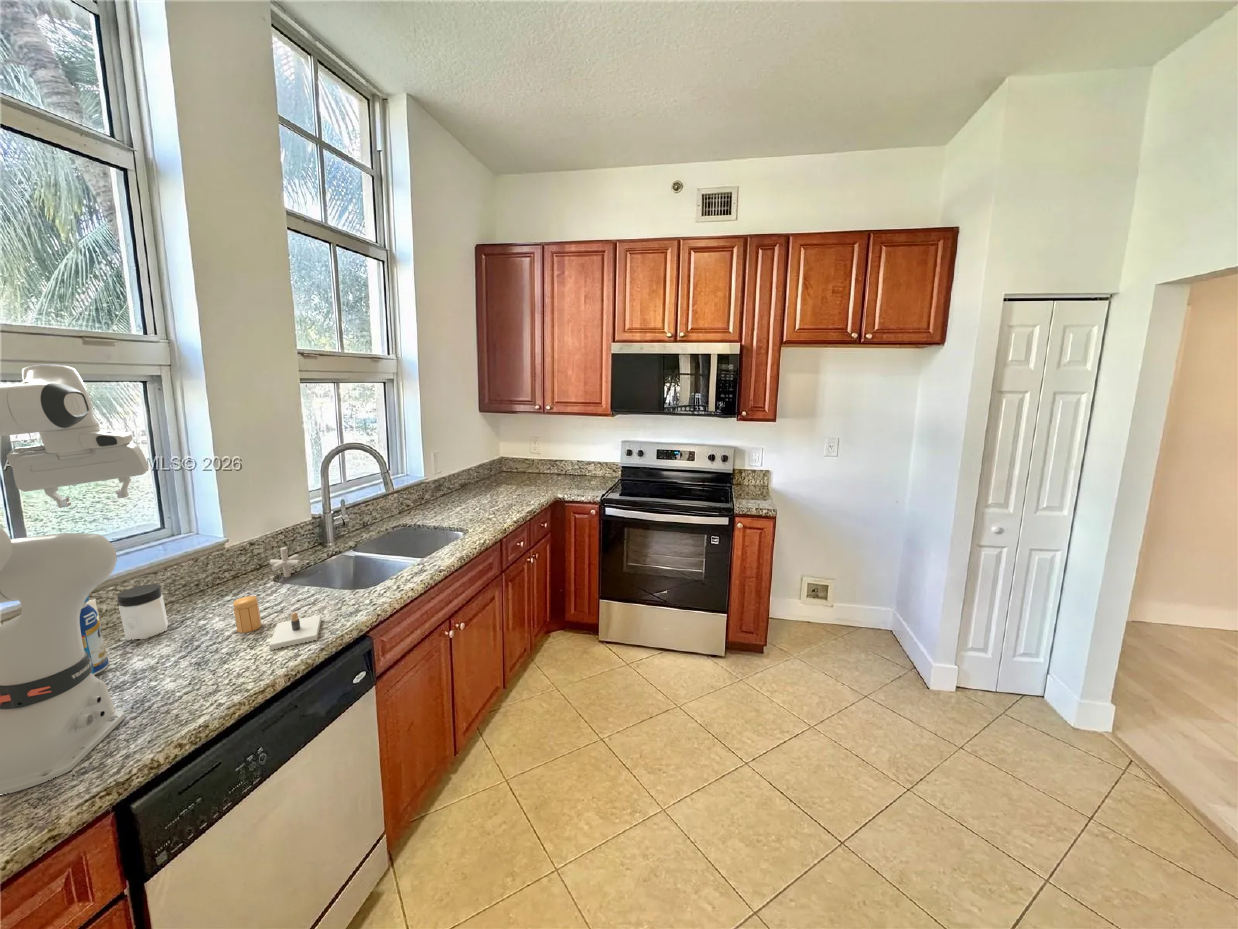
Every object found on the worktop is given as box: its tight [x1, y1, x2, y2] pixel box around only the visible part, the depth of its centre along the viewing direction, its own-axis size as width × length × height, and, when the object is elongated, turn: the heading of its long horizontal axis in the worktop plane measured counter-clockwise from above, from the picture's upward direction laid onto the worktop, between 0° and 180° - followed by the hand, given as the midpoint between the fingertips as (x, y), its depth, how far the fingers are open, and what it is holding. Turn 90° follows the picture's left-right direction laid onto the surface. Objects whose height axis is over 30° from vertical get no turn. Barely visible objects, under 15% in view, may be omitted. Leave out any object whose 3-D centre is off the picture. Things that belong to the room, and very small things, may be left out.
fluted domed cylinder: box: [233, 595, 263, 634], centre depth 131 cm, size 5×5×8 cm
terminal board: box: [268, 612, 322, 651], centre depth 128 cm, size 12×10×6 cm
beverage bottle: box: [80, 594, 110, 676], centre depth 111 cm, size 8×8×20 cm
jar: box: [116, 583, 169, 641], centre depth 129 cm, size 9×8×12 cm
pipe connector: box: [269, 546, 302, 578], centre depth 165 cm, size 10×10×10 cm
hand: (95, 501), depth 109 cm, fingers open, 8 cm apart
